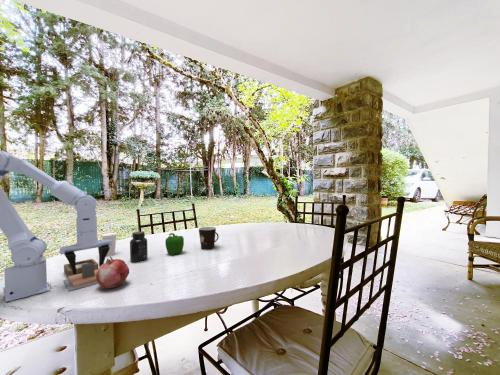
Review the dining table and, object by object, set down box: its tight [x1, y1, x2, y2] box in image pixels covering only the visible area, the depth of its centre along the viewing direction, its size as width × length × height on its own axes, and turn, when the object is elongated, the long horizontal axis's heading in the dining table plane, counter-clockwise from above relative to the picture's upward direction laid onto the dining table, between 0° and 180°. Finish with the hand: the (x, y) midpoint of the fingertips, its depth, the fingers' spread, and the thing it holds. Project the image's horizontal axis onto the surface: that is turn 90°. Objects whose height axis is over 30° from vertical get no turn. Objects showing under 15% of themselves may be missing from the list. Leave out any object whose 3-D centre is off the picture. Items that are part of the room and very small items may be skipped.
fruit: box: [96, 255, 130, 289], centre depth 74 cm, size 9×10×10 cm
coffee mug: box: [198, 226, 220, 251], centre depth 115 cm, size 12×9×10 cm
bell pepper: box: [164, 232, 185, 256], centre depth 108 cm, size 8×8×10 cm
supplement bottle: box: [129, 231, 149, 264], centre depth 99 cm, size 7×7×12 cm
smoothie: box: [101, 224, 118, 257], centre depth 108 cm, size 6×6×14 cm
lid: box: [67, 262, 98, 288], centre depth 79 cm, size 10×10×5 cm
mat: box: [63, 278, 99, 292], centre depth 79 cm, size 12×11×1 cm
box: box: [63, 258, 100, 279], centre depth 86 cm, size 9×9×3 cm
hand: (88, 270), depth 79 cm, fingers open, 7 cm apart
